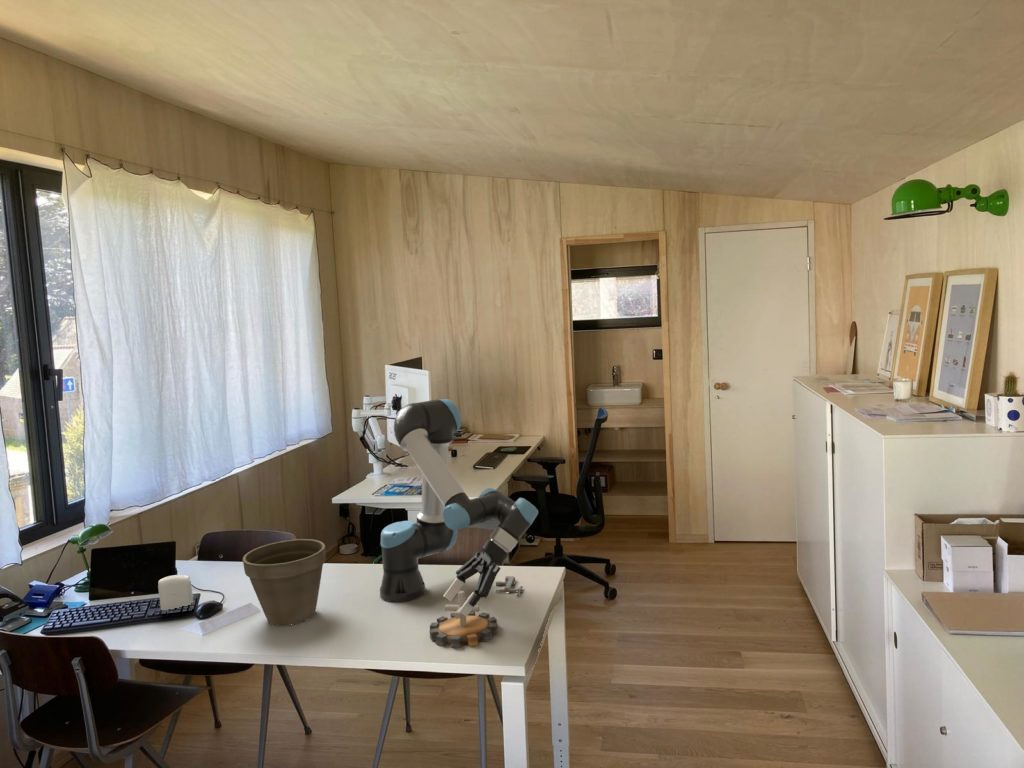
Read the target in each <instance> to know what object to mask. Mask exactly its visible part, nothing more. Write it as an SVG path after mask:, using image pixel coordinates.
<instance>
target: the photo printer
mask: <svg viewBox="0 0 1024 768" xmlns="http://www.w3.org/2000/svg"><path fill="white" fill-rule="evenodd" d="M157 583H158V585H157V588H158V594H159V595H158V597H159V604H160V605H159V607H160V611H161V610H168V609H174V608H179V607H182V606H188V605H191V603H193V602H194V595H193V587H192V581H191V577H190V576H189V575H185V574H175V575H174V574H173V575H168V576H165V577H163V578H161V579H159V580H158V582H157Z"/></svg>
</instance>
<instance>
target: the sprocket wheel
mask: <svg viewBox="0 0 1024 768" xmlns="http://www.w3.org/2000/svg"><path fill="white" fill-rule="evenodd" d="M455 613H456V612H452V613H450V617H449V618H448V617H446V616H440V617H437V618H436V622H431V623H430V625H429V638H430V640H431V642H434V641H436V645H437V646H440V647H444V646H446V645H451V647H450V648H452V649H453V648H455V649H459V648H461V647H462V645H463V646H465V645H468V647H470V648H471V647H475V646H478V645H479V642H484V643H487V642H489V641H491V640H492V639H493V636H497V634H498V633H499V629H498V621H497V618H496V617H495V616H490V613H487V612H481V613H479V614H478V615H476V612H470V613H469V614H468V616H467V617H466V623H467V625H466V626H460V618H459V619H456V618H455V617H454V614H455ZM478 641H479V642H478Z"/></svg>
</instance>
